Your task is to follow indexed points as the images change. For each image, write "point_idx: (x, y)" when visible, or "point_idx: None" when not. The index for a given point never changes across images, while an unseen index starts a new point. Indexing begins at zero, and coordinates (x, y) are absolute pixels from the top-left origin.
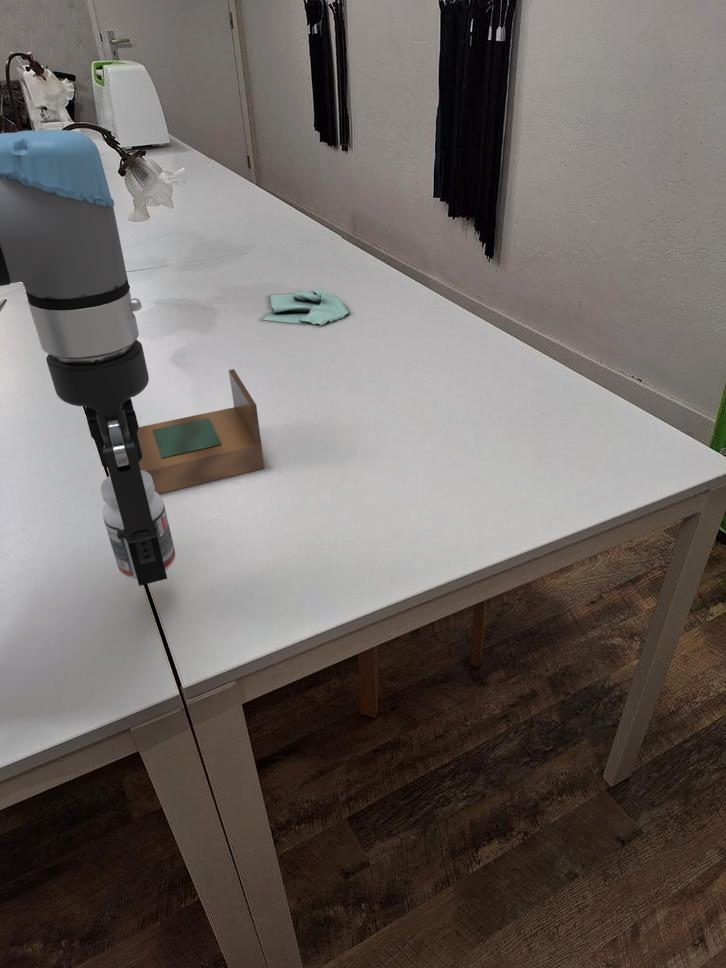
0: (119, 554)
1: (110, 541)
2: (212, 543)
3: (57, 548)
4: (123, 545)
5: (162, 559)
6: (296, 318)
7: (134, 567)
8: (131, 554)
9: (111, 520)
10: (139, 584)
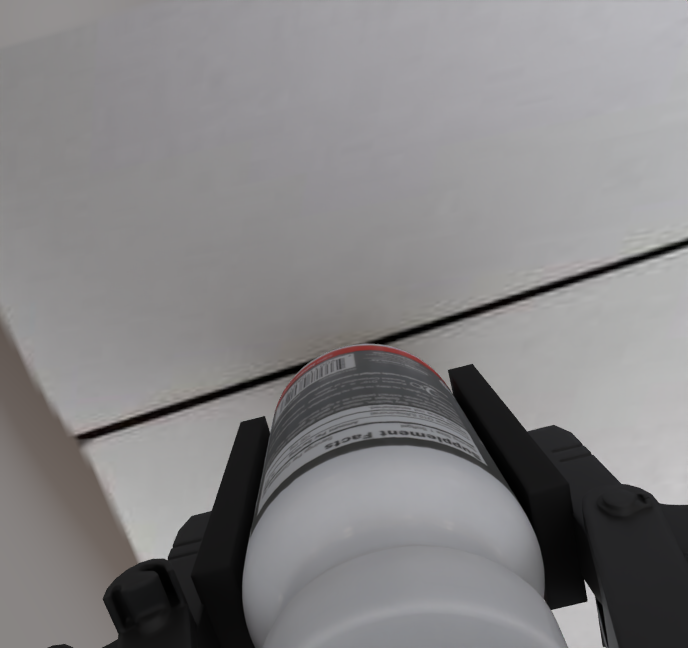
0: (284, 418)
1: (325, 403)
2: None
3: (665, 26)
4: (264, 474)
5: None
6: None
7: (227, 464)
8: (215, 502)
9: (270, 531)
10: (241, 426)
